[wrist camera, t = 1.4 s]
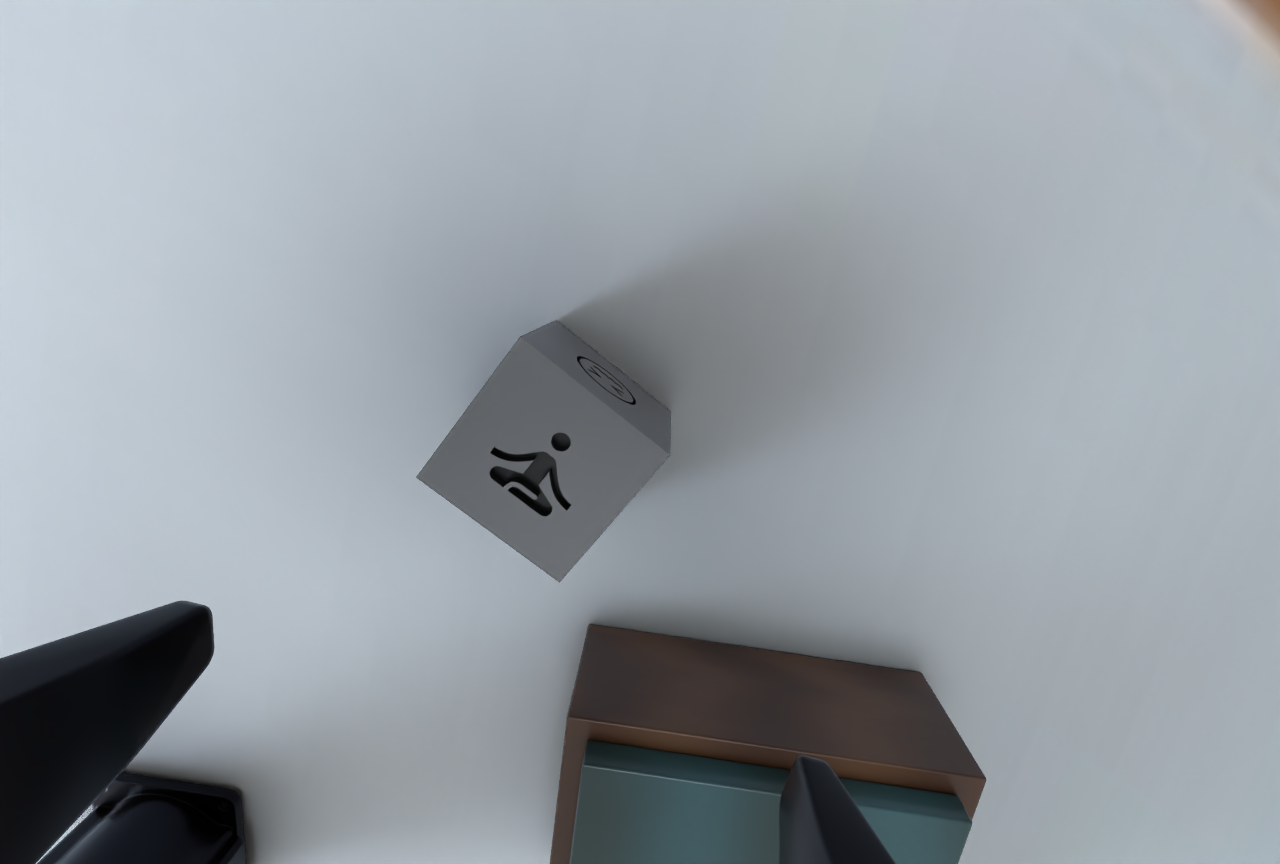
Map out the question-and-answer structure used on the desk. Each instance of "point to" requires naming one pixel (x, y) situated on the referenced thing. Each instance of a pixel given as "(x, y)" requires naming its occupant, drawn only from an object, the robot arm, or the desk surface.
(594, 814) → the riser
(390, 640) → the desk surface
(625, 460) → the dice cube
